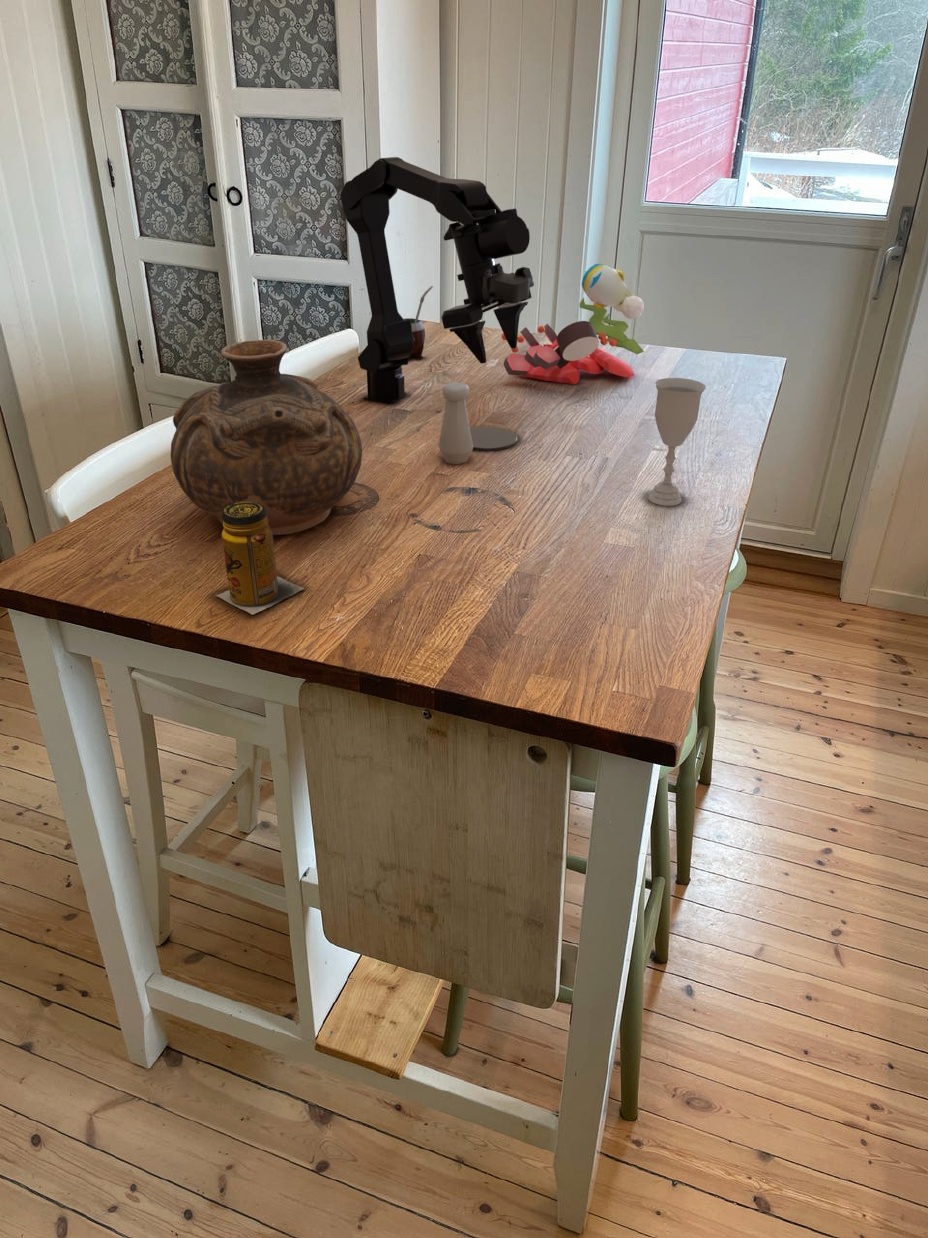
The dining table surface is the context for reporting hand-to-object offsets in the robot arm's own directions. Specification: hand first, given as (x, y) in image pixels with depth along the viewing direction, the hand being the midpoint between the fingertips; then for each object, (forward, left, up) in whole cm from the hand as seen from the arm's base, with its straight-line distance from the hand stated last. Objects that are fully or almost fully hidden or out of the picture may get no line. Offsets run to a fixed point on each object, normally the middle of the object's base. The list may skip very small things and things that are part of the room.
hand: (499, 355), depth 163 cm
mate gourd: (-35, +36, -14) cm, 52 cm away
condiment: (-5, -68, -14) cm, 69 cm away
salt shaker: (-1, -16, -14) cm, 21 cm away
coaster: (0, -5, -14) cm, 15 cm away
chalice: (+35, -17, -14) cm, 41 cm away
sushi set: (+3, +38, -14) cm, 41 cm away
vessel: (-17, -47, -14) cm, 52 cm away
